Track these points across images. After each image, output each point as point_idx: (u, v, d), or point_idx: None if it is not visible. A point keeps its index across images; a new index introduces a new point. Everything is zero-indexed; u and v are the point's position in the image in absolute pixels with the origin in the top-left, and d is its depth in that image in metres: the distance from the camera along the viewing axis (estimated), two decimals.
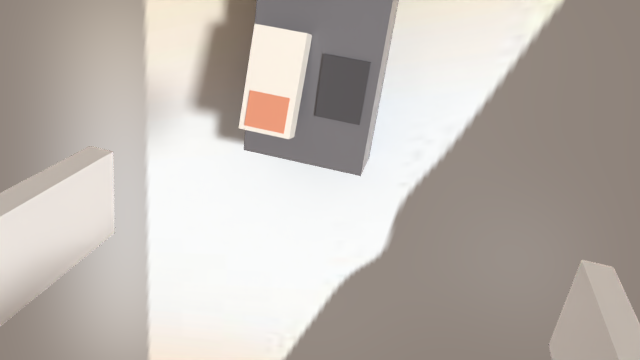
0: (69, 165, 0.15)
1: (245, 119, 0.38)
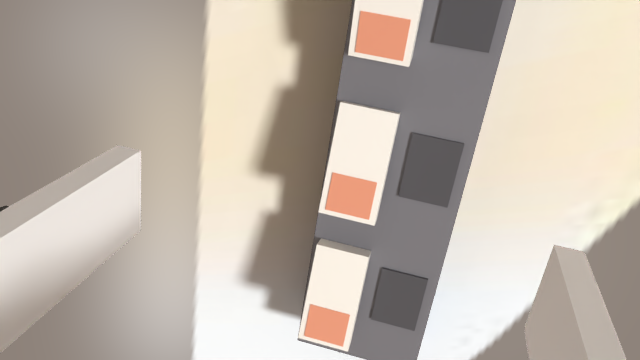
0: (100, 163, 0.15)
1: (304, 330, 0.39)
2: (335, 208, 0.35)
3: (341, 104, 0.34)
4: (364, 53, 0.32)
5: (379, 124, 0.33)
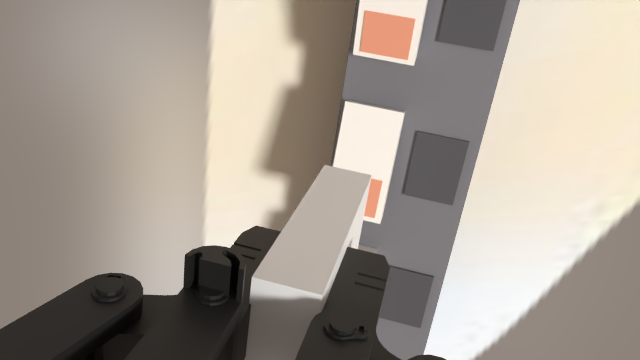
0: (324, 184, 0.16)
1: None
2: None
3: (346, 103, 0.34)
4: (369, 52, 0.32)
5: (384, 123, 0.34)
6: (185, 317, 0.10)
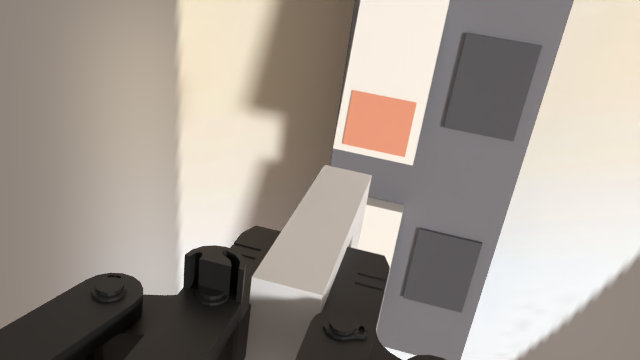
0: (324, 184, 0.16)
1: None
2: (357, 142, 0.25)
3: None
4: None
5: (420, 17, 0.23)
6: (185, 317, 0.10)
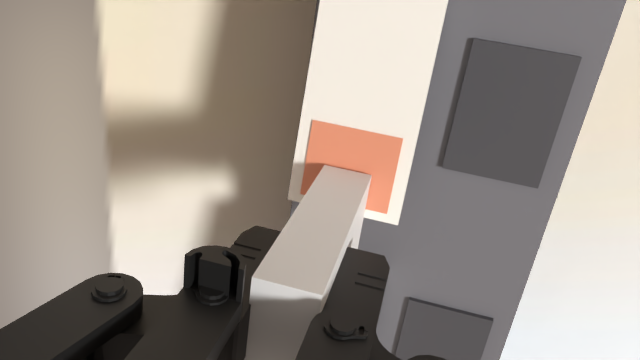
0: (324, 184, 0.16)
1: None
2: None
3: None
4: None
5: (407, 16, 0.16)
6: (185, 317, 0.10)
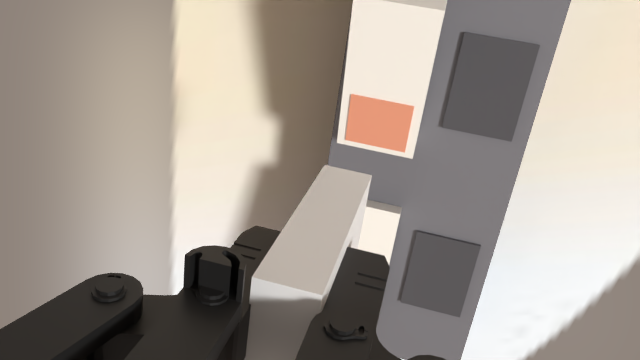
0: (324, 184, 0.16)
1: None
2: (358, 138, 0.26)
3: None
4: None
5: (415, 27, 0.22)
6: (185, 317, 0.10)
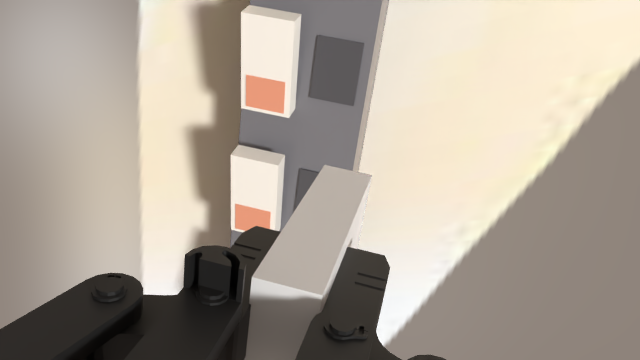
0: (324, 184, 0.16)
1: None
2: (243, 228, 0.43)
3: (231, 156, 0.40)
4: (253, 107, 0.40)
5: (264, 172, 0.40)
6: (185, 317, 0.10)
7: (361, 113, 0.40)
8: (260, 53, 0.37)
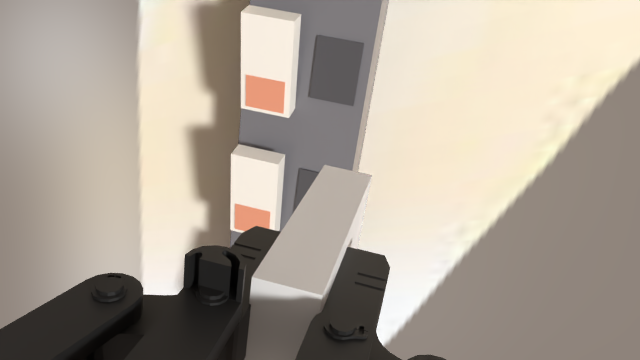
0: (324, 184, 0.16)
1: None
2: (242, 228, 0.43)
3: (232, 155, 0.40)
4: (253, 107, 0.40)
5: (264, 171, 0.40)
6: (185, 317, 0.10)
7: (361, 113, 0.40)
8: (260, 53, 0.37)
